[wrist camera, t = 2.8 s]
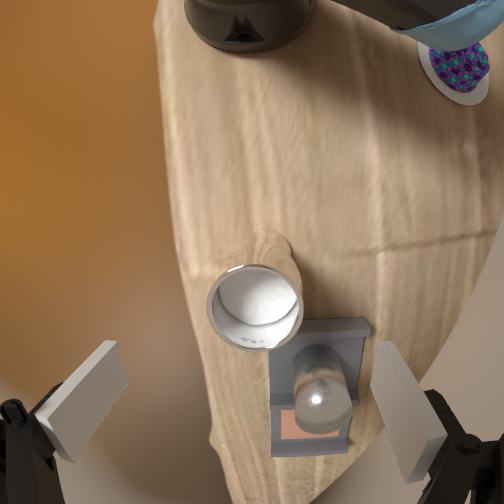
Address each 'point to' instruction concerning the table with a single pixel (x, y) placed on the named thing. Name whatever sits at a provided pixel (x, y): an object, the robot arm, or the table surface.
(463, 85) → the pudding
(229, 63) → the table surface
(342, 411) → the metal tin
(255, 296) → the beer glass
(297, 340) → the slot rack
